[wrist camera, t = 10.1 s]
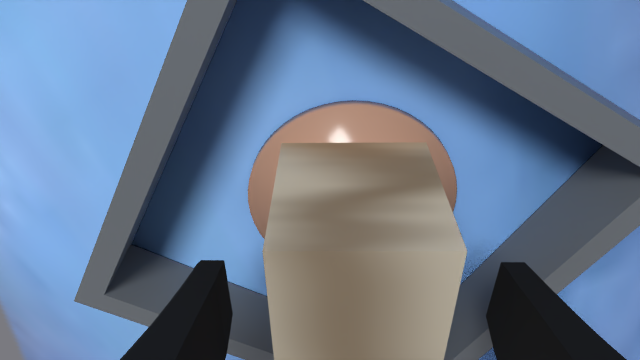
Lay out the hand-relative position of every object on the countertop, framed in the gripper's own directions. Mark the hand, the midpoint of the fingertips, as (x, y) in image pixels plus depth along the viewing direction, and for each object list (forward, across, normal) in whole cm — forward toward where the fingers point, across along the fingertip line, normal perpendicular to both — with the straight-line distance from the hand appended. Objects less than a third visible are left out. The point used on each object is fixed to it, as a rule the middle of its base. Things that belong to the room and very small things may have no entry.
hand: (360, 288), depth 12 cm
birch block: (+4, 0, 0) cm, 4 cm away
